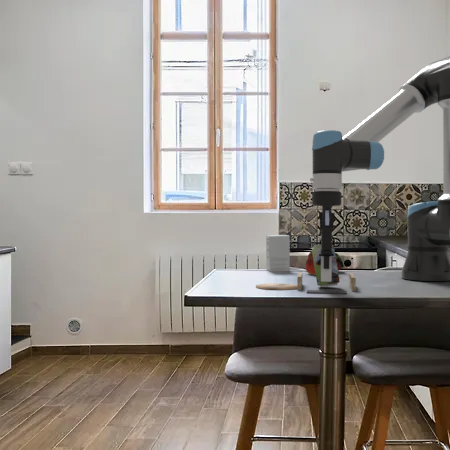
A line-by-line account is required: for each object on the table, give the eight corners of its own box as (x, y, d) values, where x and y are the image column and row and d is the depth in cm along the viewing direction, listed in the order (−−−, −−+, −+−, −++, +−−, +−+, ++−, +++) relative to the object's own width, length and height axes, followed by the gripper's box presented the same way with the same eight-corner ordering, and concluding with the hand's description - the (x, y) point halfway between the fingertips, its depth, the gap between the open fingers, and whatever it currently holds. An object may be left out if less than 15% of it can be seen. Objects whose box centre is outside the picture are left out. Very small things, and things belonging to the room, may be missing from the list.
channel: (352, 285, 164) (352, 273, 164) (355, 291, 152) (355, 277, 152) (298, 284, 166) (298, 272, 166) (297, 289, 154) (297, 276, 154)
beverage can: (339, 288, 155) (339, 243, 156) (311, 288, 157) (311, 243, 157) (339, 286, 162) (339, 243, 162) (312, 286, 163) (312, 243, 163)
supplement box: (286, 270, 210) (286, 234, 210) (290, 272, 203) (290, 235, 202) (265, 270, 210) (266, 234, 209) (268, 272, 202) (268, 235, 202)
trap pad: (346, 291, 151) (346, 290, 151) (347, 294, 147) (347, 292, 147) (306, 291, 152) (306, 290, 152) (306, 293, 148) (306, 292, 148)
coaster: (300, 285, 165) (300, 283, 165) (299, 290, 153) (299, 289, 153) (257, 284, 167) (257, 283, 167) (253, 289, 155) (253, 288, 155)
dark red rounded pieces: (323, 294, 201) (293, 272, 194) (331, 263, 207) (303, 241, 200) (351, 290, 192) (321, 267, 185) (359, 257, 198) (330, 234, 191)
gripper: (312, 191, 160) (311, 278, 160) (312, 189, 147) (311, 283, 147) (340, 191, 159) (339, 278, 159) (342, 189, 146) (341, 284, 146)
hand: (326, 281), depth 153 cm, fingers closed
